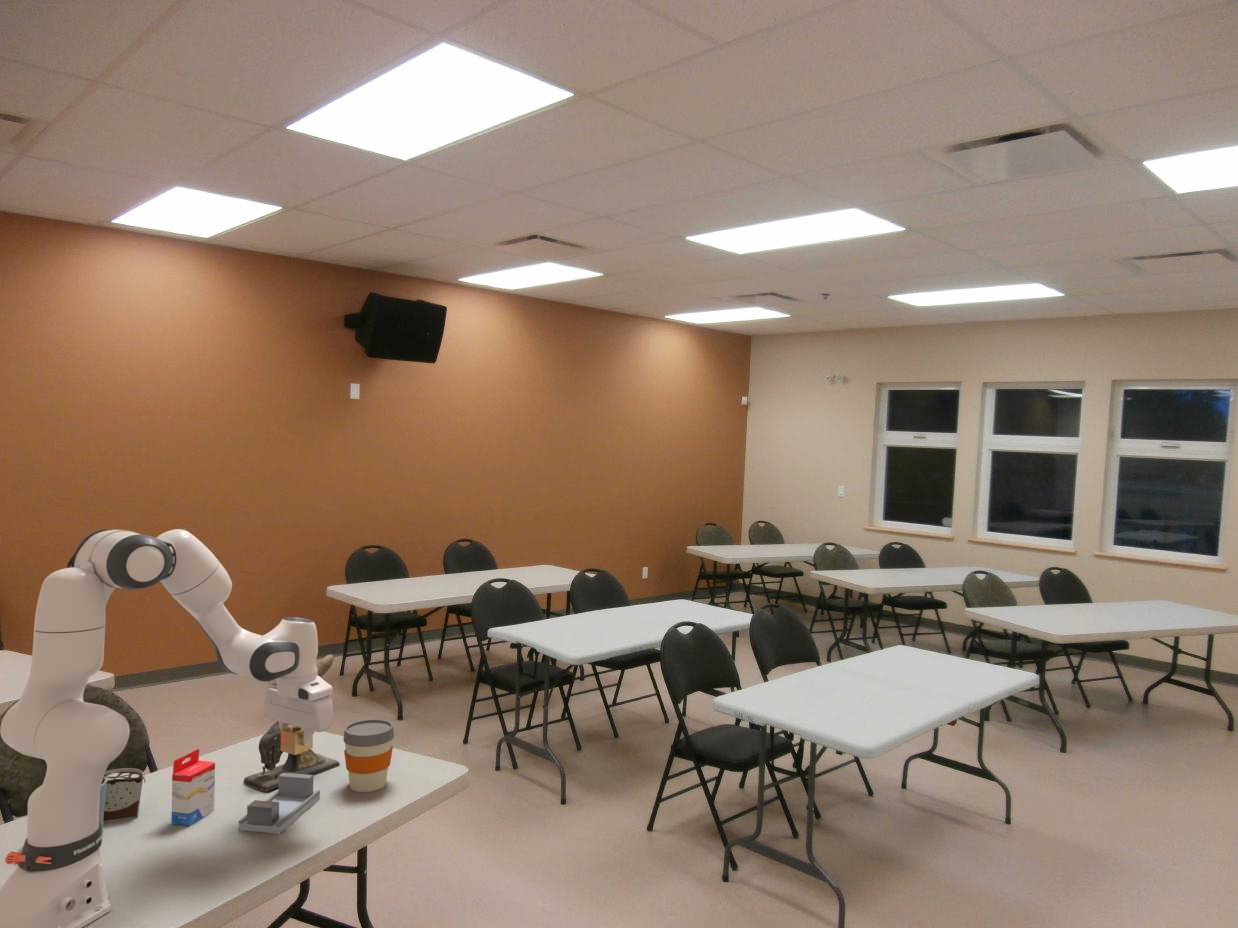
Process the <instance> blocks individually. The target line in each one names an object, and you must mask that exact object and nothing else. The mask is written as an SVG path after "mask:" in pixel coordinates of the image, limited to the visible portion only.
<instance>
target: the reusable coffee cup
mask: <svg viewBox="0 0 1238 928" xmlns="http://www.w3.org/2000/svg"><path fill="white" fill-rule="evenodd" d="M394 731H395V729H394V724H393V723H392V722H390V721H389V720H384V719H372V718H371V719H364V720H363V719H362V720H358V721H354V722H352V723H350V724H348V725H346V727H345V728H344V733H343V739H342V740H343V742H344V745H345V749H344V751H343V752H344V753H343V754H344V760H345V769H346V770H347V771H348V772H347V773H348V781H349V787H350V789H351V790H352V791H355V792H360V793H369V792H374V791H379V790H380V789H383V788H384V787H385V786H386V784H387V778H388V772H389V767H390V766H391V763H392V754H393V747H394V746H393V745H392V743H393V739H394V737H395V732H394Z"/></svg>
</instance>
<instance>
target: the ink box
mask: <svg viewBox="0 0 1238 928" xmlns="http://www.w3.org/2000/svg"><path fill="white" fill-rule="evenodd" d="M199 756H200V749H199V748H197V749H195V750H193V751H190V752H189V753H187V754H184V755H182V756H181V757H179V758H176V759H175V760H174V761H173V763H172V764H173V765H172V773H171V825H179V826H188V827H189V826H191V825H193V824H194V823H197V822H198V821H199V820H201V819H203V818H205V817H206V816H208V815H210V814H211V813H213V812H214V811H215V789H216V787H215V786H216V784H215V783H216V761H215V762H214V761H209V760H199V759H200V757H199ZM186 759H189V760H187V761H186ZM184 761H185V762H184Z"/></svg>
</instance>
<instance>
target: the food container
mask: <svg viewBox="0 0 1238 928" xmlns="http://www.w3.org/2000/svg"><path fill="white" fill-rule="evenodd" d="M104 777H105V778H107V787H106V794H105V805H104V818H103V823H108V822H115V821H122V820H123V821H124V820H131V819H137V818H139V811H140V810H139V809H140V804H141V795H142V786H143V783H144V784H146V782H147V781H146V777H145V774H144V772H143V770H141V769H138V768H135V767H134V768H133V767H131V768H130V767H129V768H128V767H124V768H123V767H122V768H115V769H110V770H106V771H105V774H104Z"/></svg>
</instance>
